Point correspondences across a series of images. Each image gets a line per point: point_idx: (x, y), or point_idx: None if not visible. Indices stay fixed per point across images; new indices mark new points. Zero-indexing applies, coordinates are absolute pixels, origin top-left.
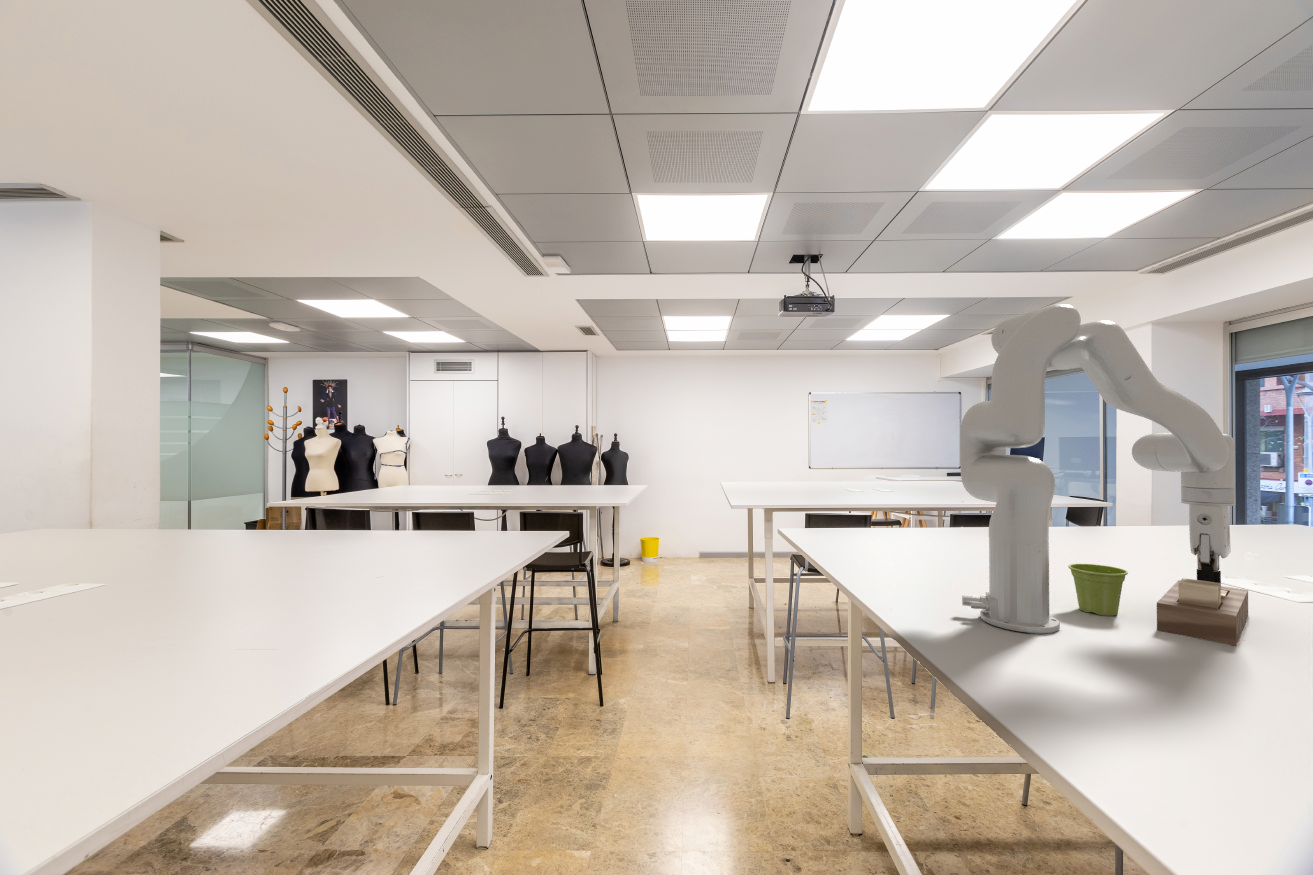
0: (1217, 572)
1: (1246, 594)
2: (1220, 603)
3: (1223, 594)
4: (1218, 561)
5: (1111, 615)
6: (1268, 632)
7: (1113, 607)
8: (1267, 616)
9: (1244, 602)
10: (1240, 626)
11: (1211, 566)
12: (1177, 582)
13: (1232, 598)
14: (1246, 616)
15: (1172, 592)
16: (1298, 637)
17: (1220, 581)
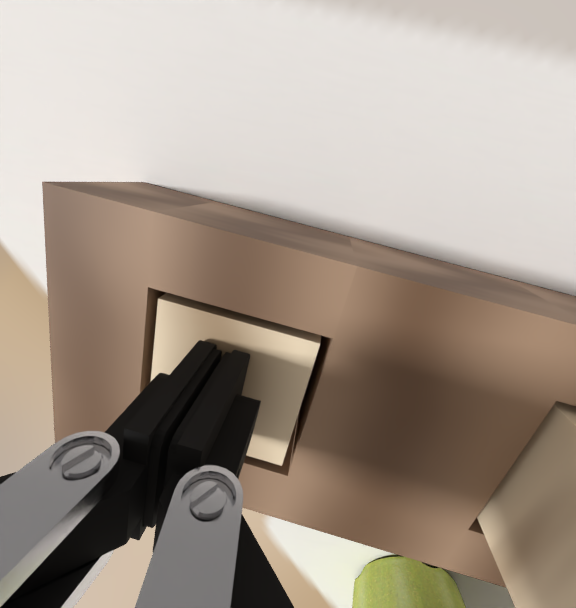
0: (200, 458)
1: (172, 214)
2: (574, 414)
3: (282, 341)
4: (45, 530)
5: (447, 573)
6: (424, 167)
7: (461, 604)
8: (96, 103)
9: (332, 252)
10: (559, 298)
11: (281, 587)
12: None
13: (392, 327)
14: (232, 208)
15: (392, 537)
16: (459, 53)
17: (192, 378)
